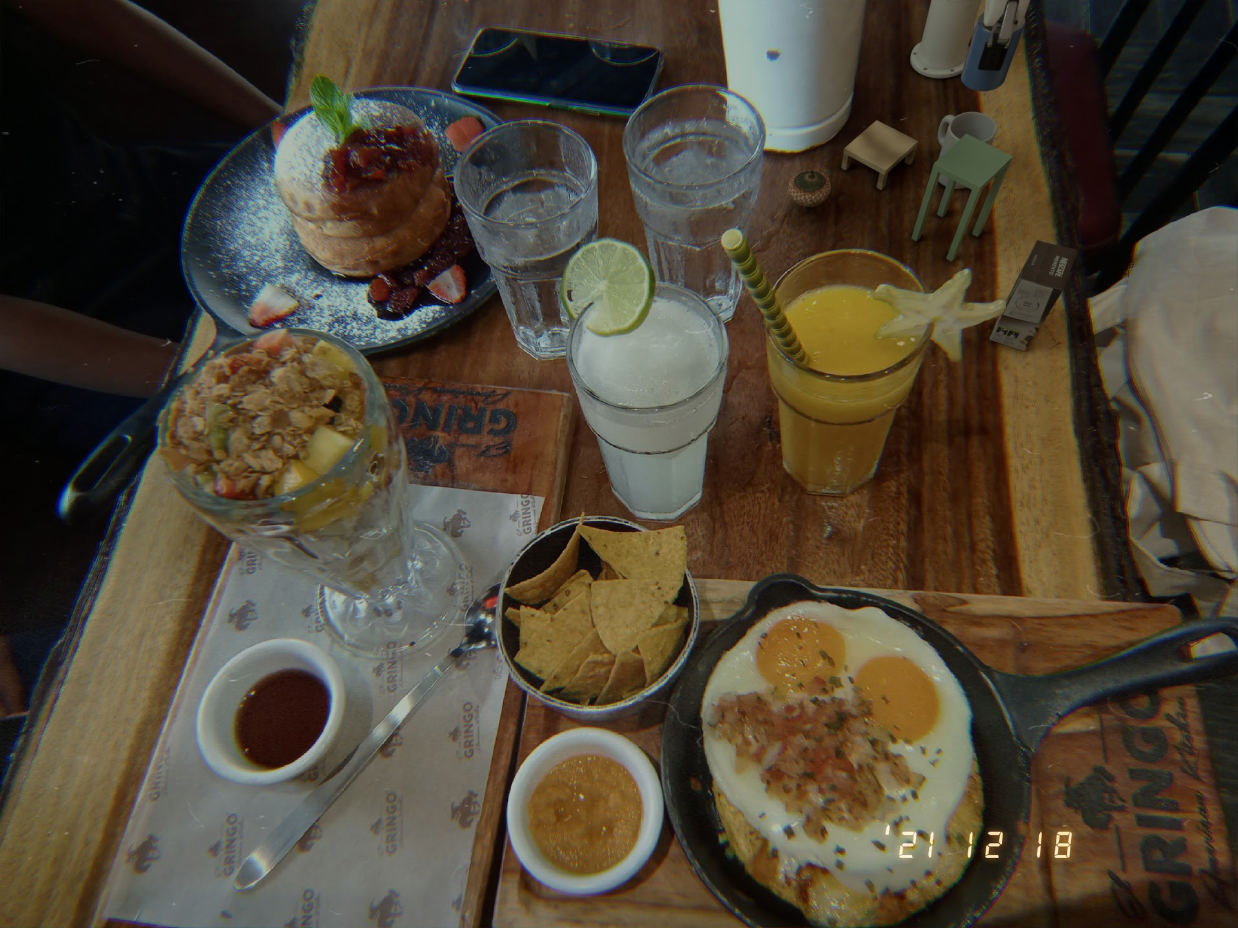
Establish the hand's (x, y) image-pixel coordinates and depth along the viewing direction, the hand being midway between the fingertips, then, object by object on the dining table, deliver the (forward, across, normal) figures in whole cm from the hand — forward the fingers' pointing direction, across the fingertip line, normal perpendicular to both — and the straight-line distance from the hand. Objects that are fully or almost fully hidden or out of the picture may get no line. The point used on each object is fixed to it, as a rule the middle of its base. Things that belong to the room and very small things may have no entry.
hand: (991, 52), depth 109 cm
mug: (+36, -15, +2) cm, 39 cm away
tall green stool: (+35, +3, +2) cm, 35 cm away
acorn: (+36, 0, -24) cm, 43 cm away
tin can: (+4, 0, 0) cm, 4 cm away
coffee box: (+35, +22, +16) cm, 45 cm away
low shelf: (+35, -14, -12) cm, 40 cm away
